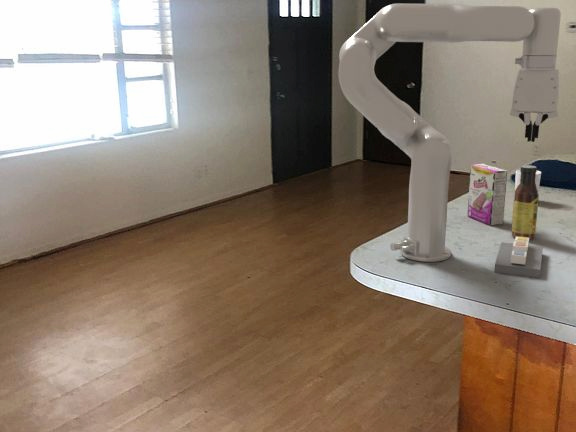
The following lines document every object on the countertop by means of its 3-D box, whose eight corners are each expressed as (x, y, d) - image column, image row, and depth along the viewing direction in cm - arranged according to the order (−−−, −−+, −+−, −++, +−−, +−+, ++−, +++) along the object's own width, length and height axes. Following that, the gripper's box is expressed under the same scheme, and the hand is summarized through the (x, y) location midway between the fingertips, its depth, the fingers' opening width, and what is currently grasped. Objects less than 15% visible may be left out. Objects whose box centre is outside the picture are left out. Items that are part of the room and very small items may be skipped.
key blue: (524, 271, 144) (526, 255, 143) (510, 269, 145) (511, 254, 144) (525, 266, 147) (526, 251, 146) (511, 264, 148) (512, 249, 147)
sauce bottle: (536, 241, 166) (544, 169, 161) (512, 240, 167) (519, 168, 162) (532, 233, 172) (539, 164, 167) (509, 232, 174) (515, 163, 168)
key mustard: (527, 255, 154) (528, 240, 153) (513, 253, 155) (514, 239, 154) (527, 251, 157) (529, 237, 156) (514, 249, 158) (515, 235, 157)
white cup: (508, 199, 208) (510, 170, 205) (527, 197, 210) (530, 168, 208) (523, 204, 201) (526, 175, 198) (543, 202, 203) (546, 173, 200)
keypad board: (539, 277, 142) (540, 269, 141) (494, 272, 146) (494, 264, 145) (542, 254, 157) (542, 246, 156) (500, 249, 160) (501, 242, 160)
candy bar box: (466, 216, 189) (469, 164, 185) (479, 214, 191) (483, 163, 187) (490, 226, 179) (494, 171, 175) (503, 224, 181) (508, 170, 177)
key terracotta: (525, 261, 147) (527, 246, 146) (511, 259, 148) (513, 244, 147) (526, 257, 150) (528, 242, 149) (512, 255, 151) (514, 240, 150)
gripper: (503, 64, 143) (497, 141, 149) (573, 64, 138) (564, 145, 143) (506, 62, 150) (500, 137, 155) (573, 62, 144) (564, 140, 150)
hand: (531, 140), depth 149 cm, fingers closed
